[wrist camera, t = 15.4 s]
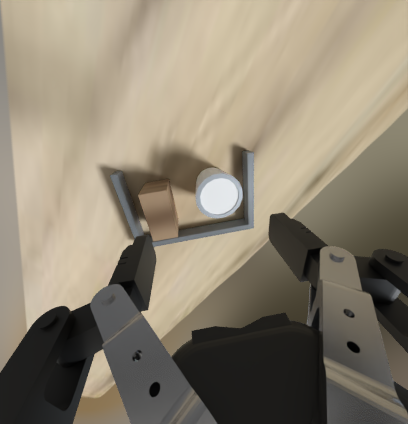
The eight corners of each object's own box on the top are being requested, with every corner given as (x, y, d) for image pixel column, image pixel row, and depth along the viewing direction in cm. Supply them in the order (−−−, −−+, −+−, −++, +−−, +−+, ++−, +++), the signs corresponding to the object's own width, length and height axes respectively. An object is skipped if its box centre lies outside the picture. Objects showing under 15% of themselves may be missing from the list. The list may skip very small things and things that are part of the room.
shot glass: (234, 193, 32) (247, 210, 26) (199, 206, 32) (204, 224, 26) (225, 157, 29) (237, 166, 23) (186, 171, 29) (188, 183, 23)
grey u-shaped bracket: (115, 171, 28) (109, 175, 25) (247, 150, 29) (253, 152, 27) (141, 241, 34) (138, 249, 32) (249, 221, 35) (253, 228, 33)
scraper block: (145, 182, 29) (137, 195, 24) (169, 178, 29) (166, 190, 24) (157, 222, 33) (153, 241, 27) (178, 219, 33) (178, 236, 28)
